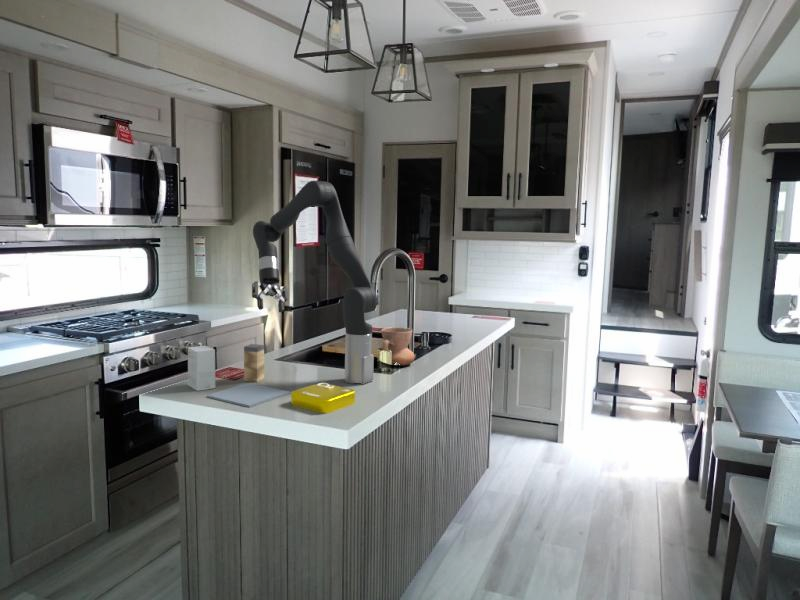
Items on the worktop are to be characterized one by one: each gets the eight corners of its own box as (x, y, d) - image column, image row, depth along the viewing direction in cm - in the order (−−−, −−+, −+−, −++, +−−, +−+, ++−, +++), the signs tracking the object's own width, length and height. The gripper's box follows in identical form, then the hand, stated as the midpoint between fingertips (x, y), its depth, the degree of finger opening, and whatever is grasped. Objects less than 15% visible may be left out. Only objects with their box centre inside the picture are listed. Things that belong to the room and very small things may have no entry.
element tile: (288, 405, 180) (288, 390, 179) (321, 394, 192) (321, 380, 191) (325, 415, 171) (326, 399, 171) (357, 403, 184) (357, 388, 183)
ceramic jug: (393, 357, 247) (393, 324, 245) (423, 362, 239) (423, 328, 237) (367, 366, 232) (367, 330, 230) (398, 371, 224) (398, 335, 223)
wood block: (264, 378, 208) (264, 345, 206) (257, 382, 203) (257, 347, 202) (251, 377, 209) (251, 343, 208) (244, 380, 204) (244, 346, 203)
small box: (215, 388, 194) (215, 349, 192) (196, 391, 190) (196, 351, 188) (206, 382, 200) (206, 345, 198) (187, 385, 196) (187, 347, 194)
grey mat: (289, 393, 191) (289, 391, 191) (249, 407, 175) (249, 405, 175) (248, 384, 199) (248, 382, 199) (206, 397, 184) (206, 395, 184)
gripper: (257, 263, 219) (259, 305, 214) (290, 270, 228) (293, 309, 223) (247, 270, 224) (249, 311, 219) (279, 276, 233) (282, 315, 228)
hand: (271, 310), depth 221 cm, fingers open, 8 cm apart
